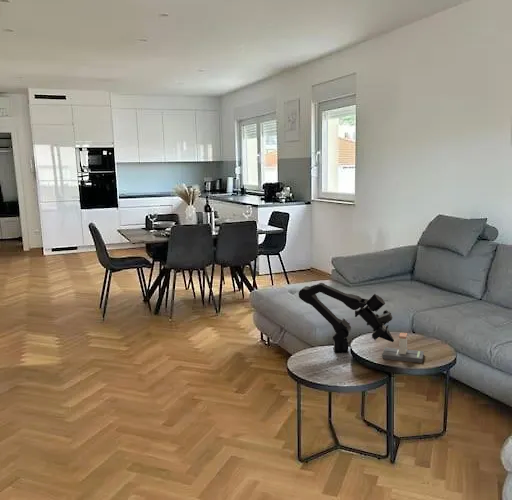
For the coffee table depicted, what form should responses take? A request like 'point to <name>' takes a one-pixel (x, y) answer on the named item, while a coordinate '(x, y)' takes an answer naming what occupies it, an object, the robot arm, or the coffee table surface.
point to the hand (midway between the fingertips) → (393, 341)
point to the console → (403, 355)
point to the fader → (402, 343)
